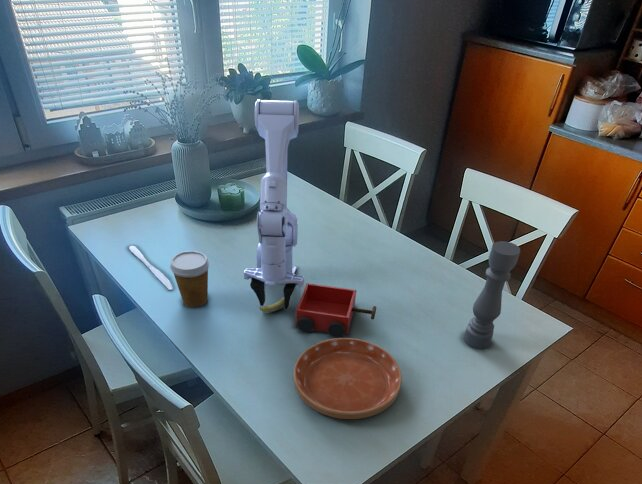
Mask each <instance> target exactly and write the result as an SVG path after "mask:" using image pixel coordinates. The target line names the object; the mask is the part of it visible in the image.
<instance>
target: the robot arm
mask: <svg viewBox="0 0 642 484" xmlns="http://www.w3.org/2000/svg"><path fill="white" fill-rule="evenodd" d="M254 126H255V129H256V130H257V133H258V135H259V137H261V138H262V139H264V144H265V145H264V146H265V166H266V167H265V168H266V173H265V175H264V176H263V177H262V178H261V180H260V193H259V194H260V199H259V211H257V215H256V231H257V234H258V245H257V249H256V256H255V257H256V268H247V267H246V268H245V269H244V271H243V279H244V280H250V284H249V287H250V288H251V290H252V291H253V292H254V294H255V295H256V297H257V300H258V303H259V306H261V307H262V306H265V303H266V292H265V290H266V289H265V286H267V287H268V286H269V287H274V286H275V285H283V284H284V287H283V289H282V292H283V298H284V306H283V307H284V310H288V308H289V307H290V301H291V297H292V295H293V293H294V291H295V289H296V287H298V288H303V287H304V284H305V276H304V275H300V274H296V271H297V266H294V265H293V248H294V247H296V246H297V245H298V237H299V236H298V234H299V231H298V230H299V225H298V217H297V215H296V214H295V213H294V212H292V211H291V210H290V209H289V208H288V148H289V145H290V141H291V140H293V139H296V138H298V134H299V126H300V103H299V102H298V100H297V99H295V100H273V99H260V98H257V99H256V101H255V103H254Z"/></svg>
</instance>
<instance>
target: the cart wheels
mask: <svg viewBox="0 0 642 484" xmlns="http://www.w3.org/2000/svg"><path fill="white" fill-rule="evenodd" d="M352 311H353V313H359V314H360V313H361V314H368V315H370V319H371V320H374V319H375V317H376V313H377V306H376V305H373V306H372V309H371V310H370V309H364V308H357V307H354V308H352ZM297 327H298V328H297ZM297 327H296V328H297V330H299V331H300V332H302V333H308V334H309V333H311V332H312V331H314V330H313V327H314V322H313V321H312V320H311V319H310V318H308V317H302V318H300V319H299V320H298V322H297ZM327 333H328V334H329V335H330V336H331V337H333V338H343V336H345V335H344V333H345V326H344V325H343V324H342V323H340V322H332V323H331V324H330V325H329V328H328V332H327Z"/></svg>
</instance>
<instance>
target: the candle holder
mask: <svg viewBox="0 0 642 484" xmlns="http://www.w3.org/2000/svg"><path fill="white" fill-rule="evenodd" d="M520 254H521V248H520V247H519V246H518V245H517V244H515V243H513V242H510V241H505V240H504V241H503V240H501V241H495V242H494V243H492V245H491V249H490V252H489V256H488V265H489V267H488V268H486V270H485V276H486V281H485V284H484V286H483V288H482V290H481V292H480V293H479V295H478V296H477V298H476V300H475V301H474V302H473V306H472V312H473V317H472V318H471V319H470V320H469V322H468V324H467V325H466V327H465V328H466V329H465V332H464V335H463V341H464V343H465V344H466V345H467V346H469V347H471V348H474V349H479V350H482V349H486V348H488V347H489V346H490V345H491V342H492V339H493V336H494V330H495V324H494V321H495V320H496V319H497V318H499V317H500V315H501V312H502V299H503V290H504V287H505V284H506V282H508V281H509V280H510V279H511V276H512V275H511V271H512V270H513V269H514V268H515V267H516V266H517V263H518V260H519V257H520Z"/></svg>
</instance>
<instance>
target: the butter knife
mask: <svg viewBox="0 0 642 484" xmlns="http://www.w3.org/2000/svg"><path fill="white" fill-rule="evenodd" d="M128 249H129V251H130V252H131V253H132V254H133V255H134V256H135V257H136V258H138V259H139V261H141V262H142V263H143V264H145V266H146V267H147V268H148V269H149V271H151V272H152V273H153V275H154V276H155V277H156V278H157V279H158V280H159V281H160V282H161V283H162V284H163V285H164V287H166V288H167V290H168V291H172V290H174V287H173V285H172V283H171V281H170V280H169V279H168V278H167V277H166V276H165V274H164V273H162V272H161V270H160V269H157V268H156V267H155V266H154V265H152V264H151V263H150V262H149V261H148V260H147V259H146V258H145V256H144V254H143V253H142V252H141V251H140V250H139V249H138V247H137V246H135V245H130V246H128Z"/></svg>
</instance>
